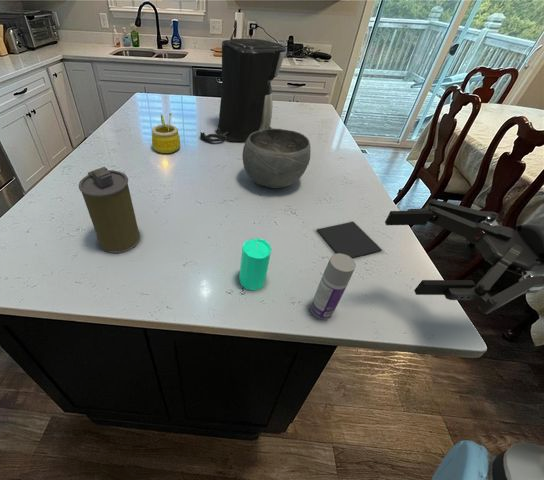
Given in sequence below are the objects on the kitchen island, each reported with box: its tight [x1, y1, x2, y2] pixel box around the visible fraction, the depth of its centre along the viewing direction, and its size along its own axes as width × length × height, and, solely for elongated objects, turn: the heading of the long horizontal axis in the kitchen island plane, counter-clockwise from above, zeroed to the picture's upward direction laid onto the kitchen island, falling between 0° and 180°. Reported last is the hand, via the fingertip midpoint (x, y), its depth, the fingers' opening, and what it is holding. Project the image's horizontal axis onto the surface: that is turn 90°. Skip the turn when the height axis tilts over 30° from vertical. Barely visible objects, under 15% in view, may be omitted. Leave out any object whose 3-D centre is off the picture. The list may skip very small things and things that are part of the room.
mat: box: [316, 221, 383, 259], centre depth 79 cm, size 12×12×1 cm
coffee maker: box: [199, 38, 287, 143], centre depth 116 cm, size 23×32×34 cm
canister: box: [78, 166, 141, 254], centre depth 70 cm, size 11×10×20 cm
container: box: [309, 253, 357, 321], centre depth 58 cm, size 5×5×15 cm
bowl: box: [241, 128, 312, 189], centre depth 95 cm, size 21×21×15 cm
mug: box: [151, 112, 181, 154], centre depth 112 cm, size 13×11×12 cm
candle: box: [238, 237, 272, 291], centre depth 64 cm, size 6×6×12 cm
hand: (401, 249), depth 46 cm, fingers open, 13 cm apart
